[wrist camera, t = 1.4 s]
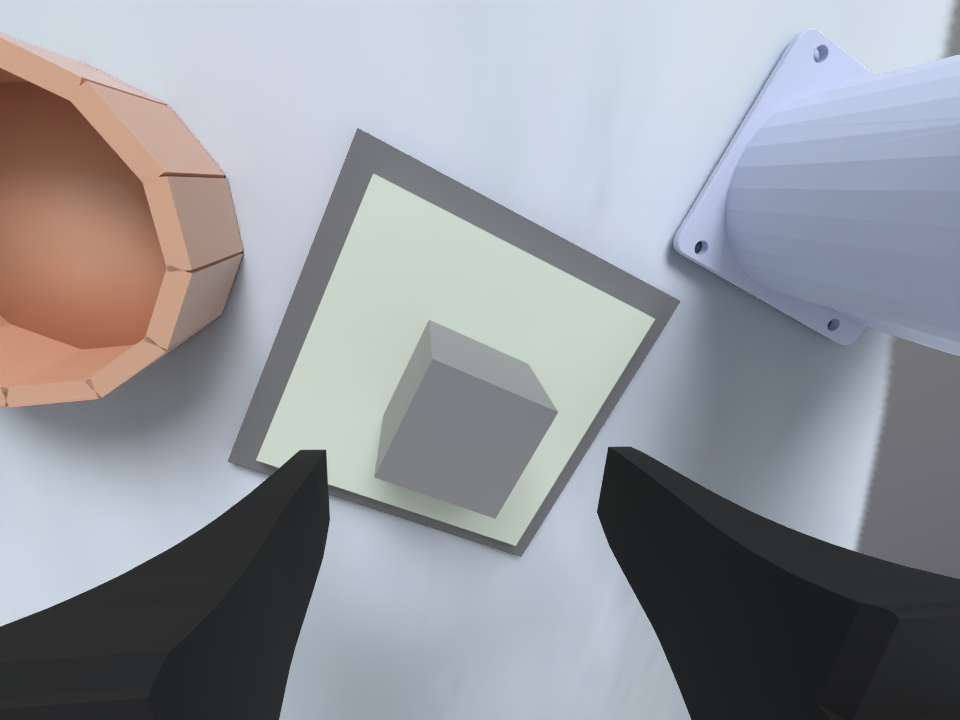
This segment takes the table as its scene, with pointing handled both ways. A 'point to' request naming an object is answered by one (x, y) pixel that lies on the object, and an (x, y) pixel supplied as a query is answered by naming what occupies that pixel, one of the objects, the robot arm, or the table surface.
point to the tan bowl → (100, 230)
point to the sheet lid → (449, 368)
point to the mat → (479, 211)
